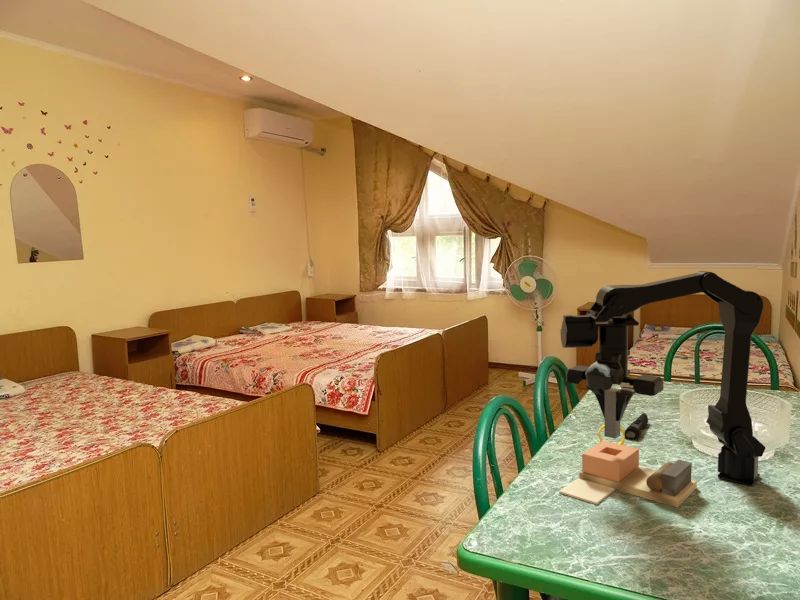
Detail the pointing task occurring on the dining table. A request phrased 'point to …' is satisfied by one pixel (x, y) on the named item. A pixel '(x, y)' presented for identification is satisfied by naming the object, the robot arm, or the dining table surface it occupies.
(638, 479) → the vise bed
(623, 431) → the watch
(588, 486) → the beige square tile
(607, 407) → the gray rectangular bar
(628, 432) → the electric trimmer
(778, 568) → the dining table surface
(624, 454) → the orange block with hole
